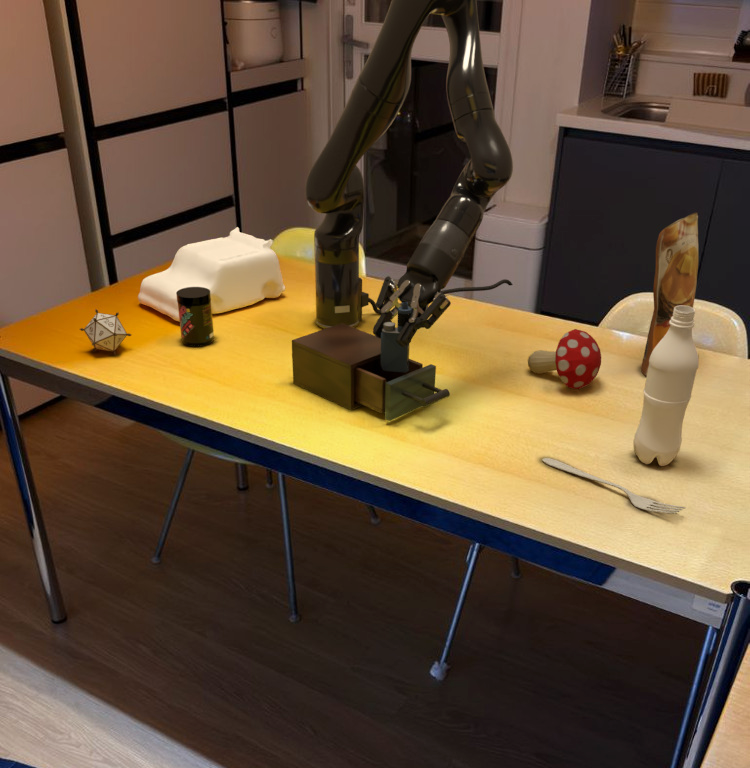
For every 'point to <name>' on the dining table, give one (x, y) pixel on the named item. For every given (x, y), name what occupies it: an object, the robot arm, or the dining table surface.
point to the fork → (634, 498)
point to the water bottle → (667, 390)
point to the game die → (105, 332)
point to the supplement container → (195, 316)
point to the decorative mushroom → (570, 359)
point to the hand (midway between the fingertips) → (388, 339)
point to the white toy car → (217, 274)
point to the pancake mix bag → (672, 277)
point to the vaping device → (395, 343)
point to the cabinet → (333, 361)
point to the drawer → (396, 388)
